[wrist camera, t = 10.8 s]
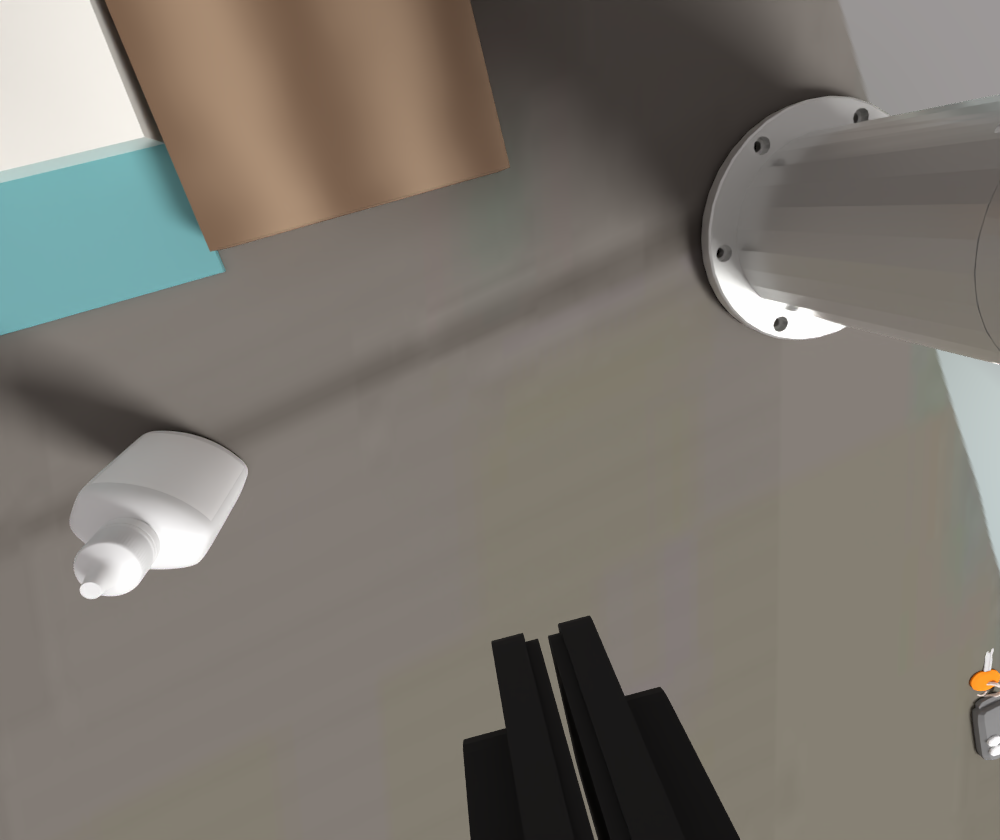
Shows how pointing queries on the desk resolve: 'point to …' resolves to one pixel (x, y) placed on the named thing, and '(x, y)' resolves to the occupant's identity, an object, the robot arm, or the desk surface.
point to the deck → (311, 104)
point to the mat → (96, 237)
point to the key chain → (987, 711)
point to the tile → (66, 88)
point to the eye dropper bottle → (153, 510)
